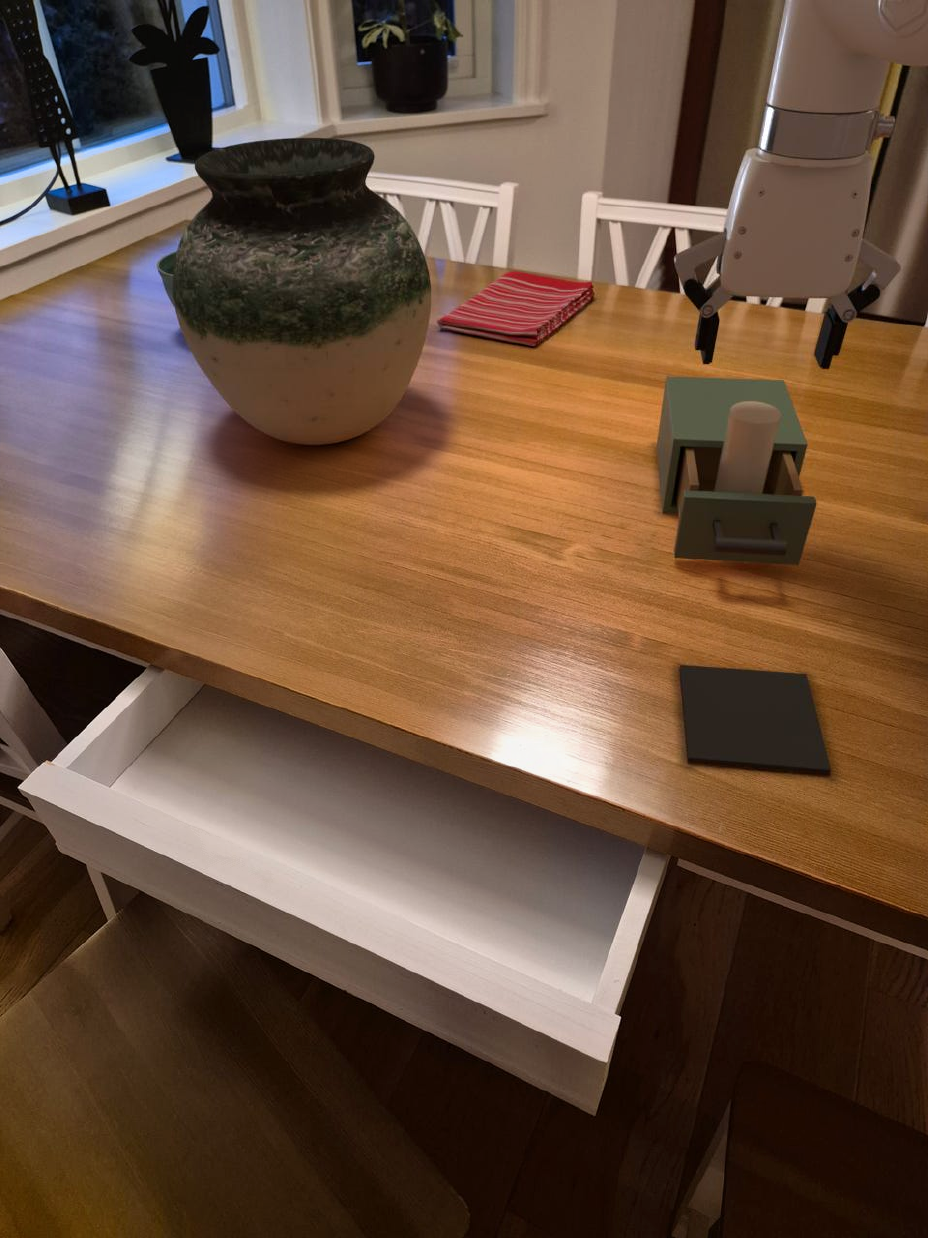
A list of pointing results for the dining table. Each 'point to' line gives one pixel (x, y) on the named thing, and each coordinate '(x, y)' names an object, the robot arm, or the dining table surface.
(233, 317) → the vase
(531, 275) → the dish towel
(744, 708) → the mat
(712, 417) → the cabinet
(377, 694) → the dining table surface
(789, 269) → the robot arm
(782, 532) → the drawer
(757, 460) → the cylinder
